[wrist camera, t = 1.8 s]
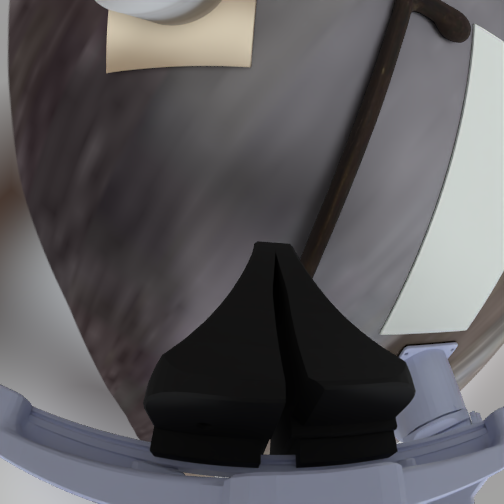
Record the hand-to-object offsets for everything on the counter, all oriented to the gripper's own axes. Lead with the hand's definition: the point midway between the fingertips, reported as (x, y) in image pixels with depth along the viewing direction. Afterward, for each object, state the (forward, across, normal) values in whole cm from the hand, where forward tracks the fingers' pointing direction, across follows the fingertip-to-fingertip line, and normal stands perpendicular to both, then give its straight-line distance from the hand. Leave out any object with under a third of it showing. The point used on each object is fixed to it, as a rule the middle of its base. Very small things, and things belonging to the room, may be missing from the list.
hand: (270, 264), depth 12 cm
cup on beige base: (+8, +6, -12) cm, 16 cm away
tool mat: (+8, -18, 0) cm, 20 cm away
